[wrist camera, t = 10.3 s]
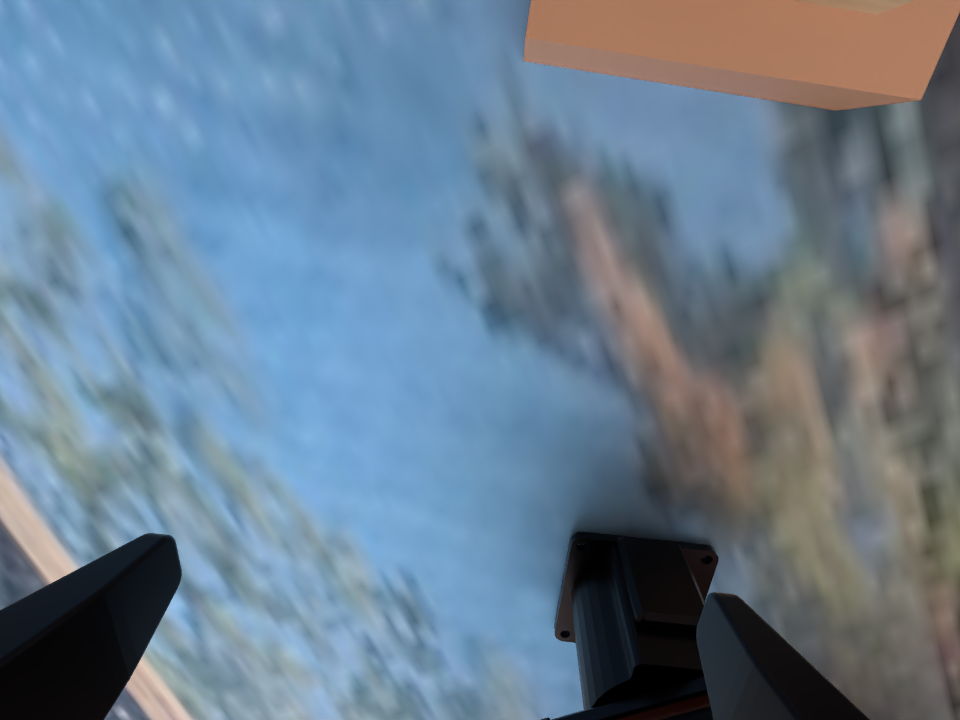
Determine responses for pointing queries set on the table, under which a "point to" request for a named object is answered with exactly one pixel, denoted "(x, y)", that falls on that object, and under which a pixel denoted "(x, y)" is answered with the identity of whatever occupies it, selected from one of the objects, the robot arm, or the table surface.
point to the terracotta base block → (750, 46)
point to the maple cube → (861, 4)
